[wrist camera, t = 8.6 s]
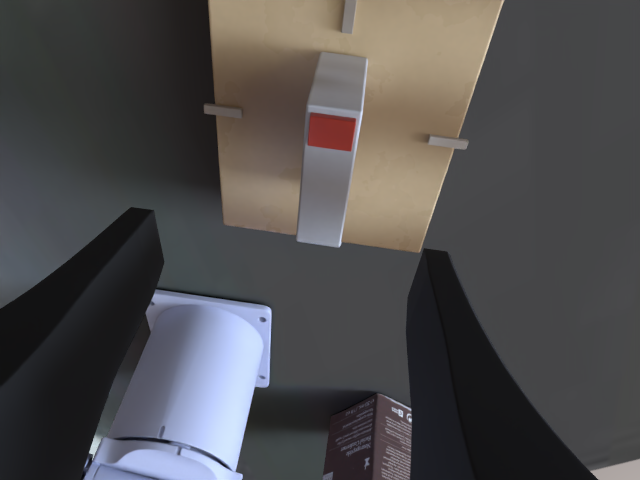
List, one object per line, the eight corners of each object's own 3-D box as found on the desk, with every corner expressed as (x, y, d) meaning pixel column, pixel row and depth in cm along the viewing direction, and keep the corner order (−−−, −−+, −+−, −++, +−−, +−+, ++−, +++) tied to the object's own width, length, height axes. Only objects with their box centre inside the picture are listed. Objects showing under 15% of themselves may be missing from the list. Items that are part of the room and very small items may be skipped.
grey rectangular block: (347, 187, 20) (339, 253, 18) (308, 181, 20) (294, 247, 18) (368, 56, 16) (362, 117, 14) (320, 50, 16) (304, 109, 14)
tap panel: (425, 217, 24) (427, 257, 22) (228, 189, 24) (214, 226, 23) (515, -61, 16) (531, -34, 14) (212, -101, 16) (187, -79, 14)
